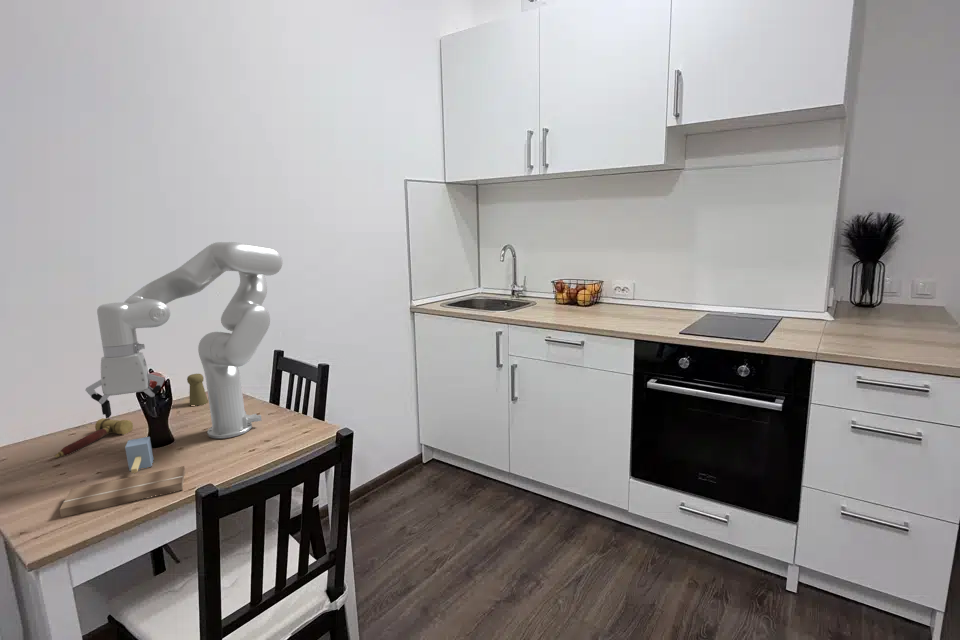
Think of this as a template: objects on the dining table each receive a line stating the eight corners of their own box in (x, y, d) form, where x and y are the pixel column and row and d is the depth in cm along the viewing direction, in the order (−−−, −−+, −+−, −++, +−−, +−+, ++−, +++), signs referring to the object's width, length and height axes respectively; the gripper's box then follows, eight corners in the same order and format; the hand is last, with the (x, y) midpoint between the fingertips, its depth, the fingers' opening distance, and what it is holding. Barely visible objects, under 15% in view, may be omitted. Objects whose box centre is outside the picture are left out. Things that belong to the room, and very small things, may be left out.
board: (185, 473, 136) (184, 465, 136) (182, 490, 127) (181, 482, 127) (72, 496, 126) (71, 488, 126) (61, 517, 117) (59, 509, 117)
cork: (205, 399, 193) (201, 370, 191) (210, 403, 188) (205, 374, 186) (187, 403, 189) (183, 374, 187) (191, 407, 185) (187, 378, 182)
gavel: (67, 450, 145) (39, 448, 148) (71, 465, 147) (44, 462, 149) (131, 417, 165) (106, 415, 167) (134, 430, 166) (109, 428, 169)
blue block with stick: (153, 460, 144) (149, 436, 143) (147, 480, 133) (143, 455, 132) (132, 464, 142) (128, 440, 141) (124, 485, 131) (119, 459, 129)
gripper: (161, 343, 142) (169, 403, 145) (83, 351, 134) (94, 414, 137) (158, 349, 135) (166, 412, 138) (76, 358, 128) (87, 424, 131)
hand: (130, 413), depth 138 cm, fingers open, 9 cm apart
